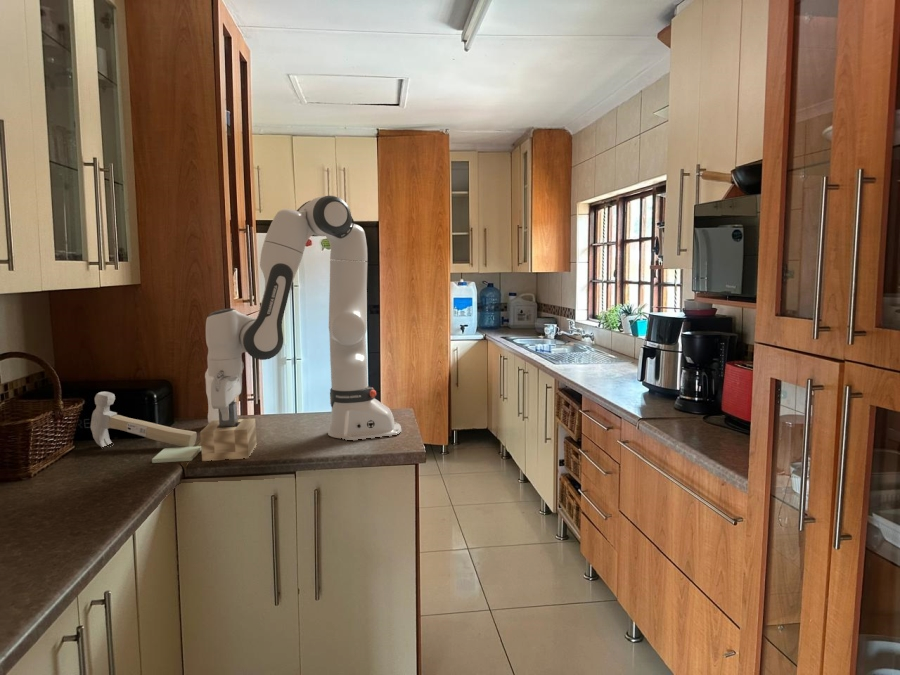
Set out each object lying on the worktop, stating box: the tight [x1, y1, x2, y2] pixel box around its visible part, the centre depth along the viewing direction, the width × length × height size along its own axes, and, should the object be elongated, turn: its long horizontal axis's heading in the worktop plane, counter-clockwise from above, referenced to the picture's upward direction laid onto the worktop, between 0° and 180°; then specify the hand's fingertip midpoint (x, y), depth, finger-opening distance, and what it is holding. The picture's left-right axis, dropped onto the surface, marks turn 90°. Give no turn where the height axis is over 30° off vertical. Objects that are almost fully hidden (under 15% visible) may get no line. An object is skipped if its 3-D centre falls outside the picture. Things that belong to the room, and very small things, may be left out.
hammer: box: [90, 391, 198, 448], centre depth 172 cm, size 16×5×30 cm
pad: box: [151, 445, 202, 464], centre depth 164 cm, size 10×10×1 cm
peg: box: [218, 401, 238, 428], centre depth 165 cm, size 4×4×12 cm
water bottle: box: [204, 368, 219, 424], centre depth 193 cm, size 7×7×25 cm
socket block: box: [199, 418, 257, 462], centre depth 165 cm, size 12×12×8 cm
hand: (228, 417), depth 164 cm, fingers closed on peg, 4 cm apart
